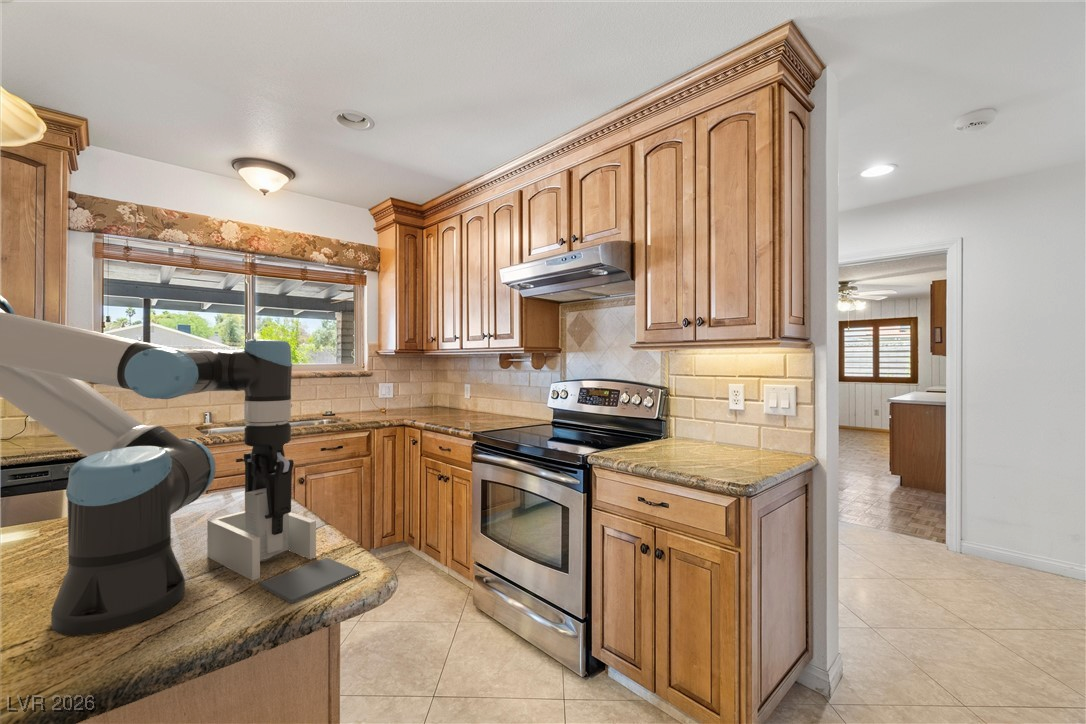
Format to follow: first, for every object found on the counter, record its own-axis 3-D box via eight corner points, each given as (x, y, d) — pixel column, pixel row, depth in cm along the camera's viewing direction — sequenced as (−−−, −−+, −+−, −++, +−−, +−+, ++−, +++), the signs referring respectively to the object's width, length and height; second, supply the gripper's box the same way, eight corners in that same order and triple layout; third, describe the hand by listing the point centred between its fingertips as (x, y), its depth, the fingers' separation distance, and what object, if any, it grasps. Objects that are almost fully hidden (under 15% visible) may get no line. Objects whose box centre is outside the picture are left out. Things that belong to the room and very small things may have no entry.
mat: (292, 603, 74) (292, 599, 74) (259, 586, 80) (259, 582, 80) (359, 574, 84) (359, 571, 84) (326, 560, 90) (326, 557, 89)
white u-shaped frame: (252, 580, 81) (252, 539, 81) (207, 556, 91) (207, 520, 91) (316, 557, 91) (315, 520, 91) (269, 538, 100) (269, 504, 100)
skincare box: (275, 546, 93) (275, 484, 93) (290, 550, 91) (290, 486, 91) (243, 557, 88) (243, 491, 88) (258, 562, 86) (257, 494, 86)
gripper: (314, 424, 87) (312, 551, 88) (265, 416, 97) (264, 531, 97) (272, 429, 81) (270, 566, 81) (224, 420, 91) (223, 543, 91)
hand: (267, 547), depth 89 cm, fingers closed on skincare box, 4 cm apart
